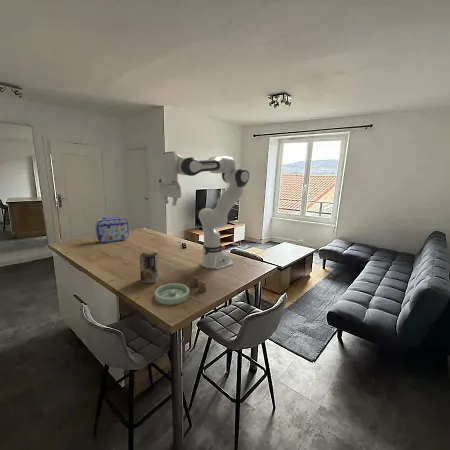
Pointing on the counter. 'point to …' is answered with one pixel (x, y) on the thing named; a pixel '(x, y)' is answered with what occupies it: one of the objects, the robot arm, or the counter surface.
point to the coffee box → (149, 267)
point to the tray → (172, 294)
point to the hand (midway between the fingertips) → (170, 204)
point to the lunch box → (111, 229)
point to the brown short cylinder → (202, 286)
